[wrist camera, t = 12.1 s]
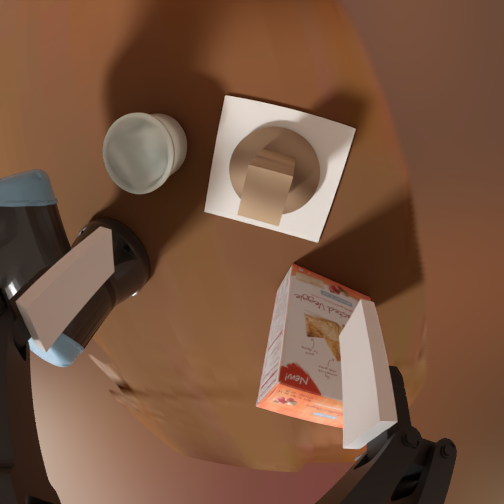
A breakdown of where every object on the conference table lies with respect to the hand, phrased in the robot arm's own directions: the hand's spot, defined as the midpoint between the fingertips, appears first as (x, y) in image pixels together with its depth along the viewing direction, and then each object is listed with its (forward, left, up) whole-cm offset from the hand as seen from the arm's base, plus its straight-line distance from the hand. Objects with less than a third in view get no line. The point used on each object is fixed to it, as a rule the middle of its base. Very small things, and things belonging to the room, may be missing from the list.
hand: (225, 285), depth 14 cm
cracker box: (-16, -12, -24) cm, 31 cm away
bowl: (0, +16, -24) cm, 29 cm away
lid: (0, 0, -24) cm, 24 cm away
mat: (0, 0, -24) cm, 24 cm away
